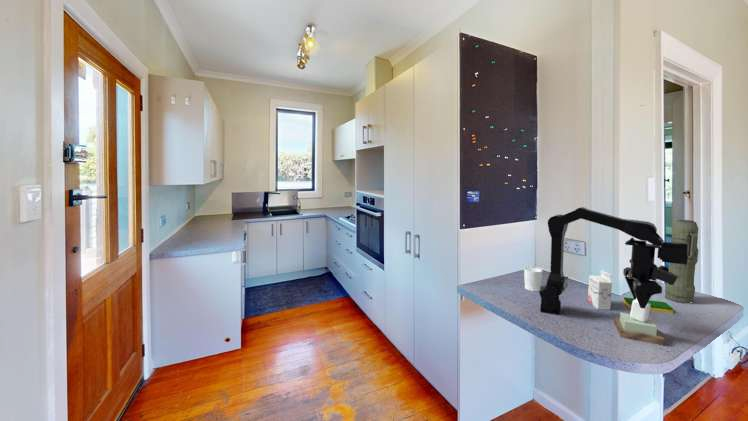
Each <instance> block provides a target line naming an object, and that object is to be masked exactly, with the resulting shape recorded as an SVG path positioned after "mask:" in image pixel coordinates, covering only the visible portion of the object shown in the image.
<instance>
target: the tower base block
mask: <svg viewBox="0 0 748 421" xmlns="http://www.w3.org/2000/svg"><path fill="white" fill-rule="evenodd" d="M613 326H614V327H615V330H616V332H617V333H618V336H619V338H622V339H626V340H627V339H628V340H633V341H638V342H643V343H647V344H653V345H656V344H658V346H662V345H664V346H665V338H664V336H663V335H662V333H661V332H660V331H659V328H657V332H656V336H653V335H648V334H643V333H637V332H632V331H627V330H624V328H623V326H622V324H621V322H620V317H619V318H618V317H613Z"/></svg>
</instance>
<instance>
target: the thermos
mask: <svg viewBox="0 0 748 421" xmlns="http://www.w3.org/2000/svg"><path fill="white" fill-rule="evenodd" d="M698 236H699V227H698V224H697V222H696V221H694V220H689V219H678V220H675V221H674V223H673V225H672V231H671V241H670V242H674V243H687V244H688V246H687V253H688V260H687V265H683V264H675V263H668V269H669V272H671V273H673V274H675V275H676V276H677V277H678V278H677V280H676V281H675V283H674V284H673V285H670V284H668V283H666V282H665V288H664V292H665V296H664V298H665V299H666V300H668V301H672V302H675V303H680V304H685V303H690V302H693V303H694V298H695V295H696V286H695V284H694V282H695V274H696V265H697V264H698V260H699V259H698V258H699V248H698V238H699V237H698Z"/></svg>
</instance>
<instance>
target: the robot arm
mask: <svg viewBox="0 0 748 421" xmlns="http://www.w3.org/2000/svg"><path fill="white" fill-rule="evenodd" d="M581 219H582V220H584V221H589V222H592V223H594V224H597V225H598V224H599V225H602V226H605V227H609V228H613V229H616V230H619V231H620V232H623V233H624V234H626V235H628V236H631V237H630V239H628V240H626V241H625V243H624V244H625V245H626V246H631V256H630V257H631V259H629V263H630V267H625V268H623V269H622V270H623V271H622V273H623V276H624V279H625V281H626V284H627V285H628V288H629V291H630V293H631V295H632V298H634V299H636V298H637V300H638V303H639V306H640V308H645V307H646V305H647V303H648V301H649V300H650V299H651V297H653V296H654V295H660V294H662V293H663V287H662V286H661V285H660V284H659V283H658V282H657V280H659V281H661V282H664V283H665V284H666V283H668V284H670V285H673V284H674V283H675V281H676V280H677V278H678V277H677V276H676V275H675V274H673V273H671V272H669V267H667V266H664V265H660V266H657V264H656V263H655V255H656V249H657V256H656V257H657V259H659V260H661V262H662V263H668V264H669V263H675V264H683V265H687V260H688V253H687V246H688V244H687V243H674V242H671V241H665V240H664V239H663V237H661V236H660V235H659V233H657V232H658V228H657V227H656V225H655V224H654V223H652V222H650V221H644V220H638V219H626V218H621V217H618V216H614V215H610V214H606V213H604V212H603V213H602V212H599V211H595V210H592V209H589V208H587V207H584V206H583V207H578V208H576V209H575V210H572V211H570V212H567V213H565V214H561V213H560V214H556V215H554V216H551V217H549V218H548V220H547V227H548V228H547V229H548V232H549V234H550V237H551V238H550V239H551V246H550V272H549V276H548V278H547V280H546V284H545V287H544V288H542V290H541V289H540V291H538V293H539V296H540V307H539V308H540V310H539V311H540V312H541V313H548V314H551V315H552V314H553V315H558V316H559V315H560V312H561V308H562V307H561V306H562V304H561V303H562V302H561V299H560V295H562V293H564V292H565V290H566V289H567V288H569V284H568V281H569V276H565V274H564V249H565V248H564V247H565V246H564V245H565V236H566V235H567V234H566V233H567V230H568V227H569V224H570V223H572V222H575V221H578V220H581ZM647 242H648V243H647Z"/></svg>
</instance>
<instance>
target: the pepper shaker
mask: <svg viewBox="0 0 748 421" xmlns="http://www.w3.org/2000/svg"><path fill="white" fill-rule="evenodd" d="M650 305H651V304H649V303H647V305H646V307H645V308H640V306H639V303H638V300H637V298H636V299H635V300H633V302H632V307H631V308H630V313H629V314H630V318H632V319H635V320H638V321H641V322H645V321H646V320H647V319H648V317H649V314H650Z"/></svg>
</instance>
